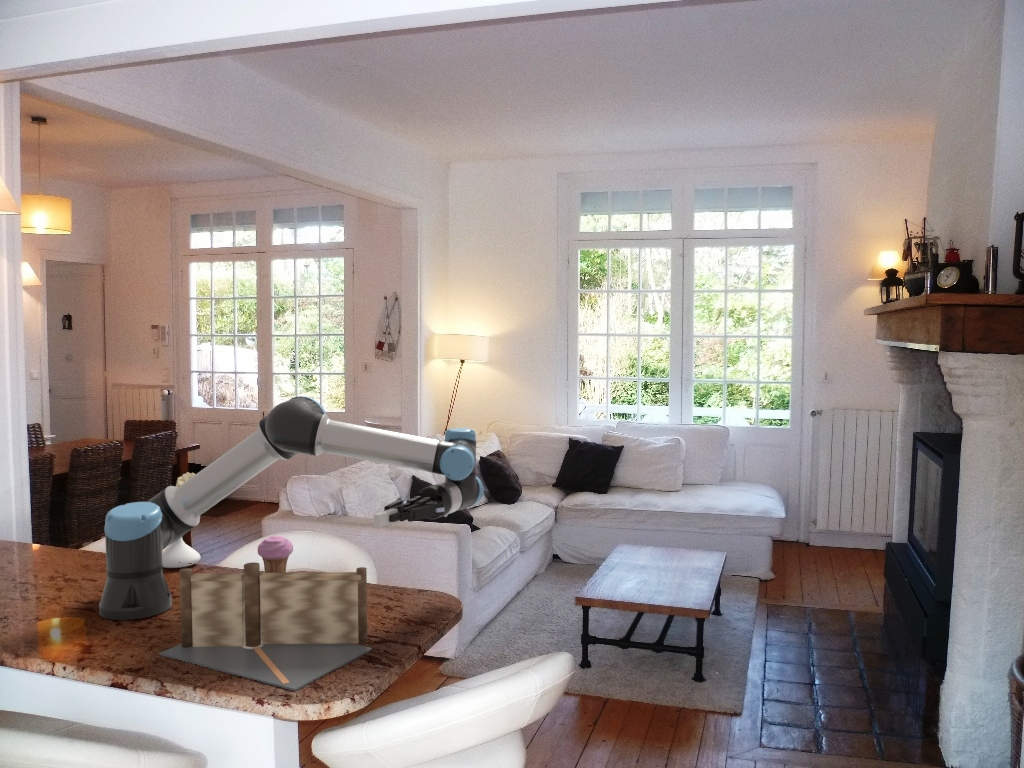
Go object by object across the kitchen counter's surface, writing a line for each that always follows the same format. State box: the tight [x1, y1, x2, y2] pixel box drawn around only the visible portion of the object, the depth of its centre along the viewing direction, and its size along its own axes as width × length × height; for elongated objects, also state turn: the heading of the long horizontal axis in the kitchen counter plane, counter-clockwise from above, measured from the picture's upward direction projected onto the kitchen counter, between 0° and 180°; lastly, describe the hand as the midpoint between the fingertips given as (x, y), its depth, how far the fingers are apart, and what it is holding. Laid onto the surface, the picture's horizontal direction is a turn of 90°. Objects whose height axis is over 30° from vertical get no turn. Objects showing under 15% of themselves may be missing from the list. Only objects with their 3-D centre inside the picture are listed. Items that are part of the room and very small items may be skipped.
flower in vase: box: [162, 471, 201, 569], centre depth 231 cm, size 13×11×25 cm
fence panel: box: [260, 566, 368, 645], centre depth 174 cm, size 21×2×15 cm, turn 92°
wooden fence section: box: [179, 561, 261, 648], centre depth 173 cm, size 16×3×16 cm, turn 92°
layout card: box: [158, 643, 373, 692], centre depth 171 cm, size 35×22×1 cm, turn 62°
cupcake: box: [257, 535, 294, 573], centre depth 224 cm, size 9×9×10 cm
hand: (376, 521), depth 180 cm, fingers closed
